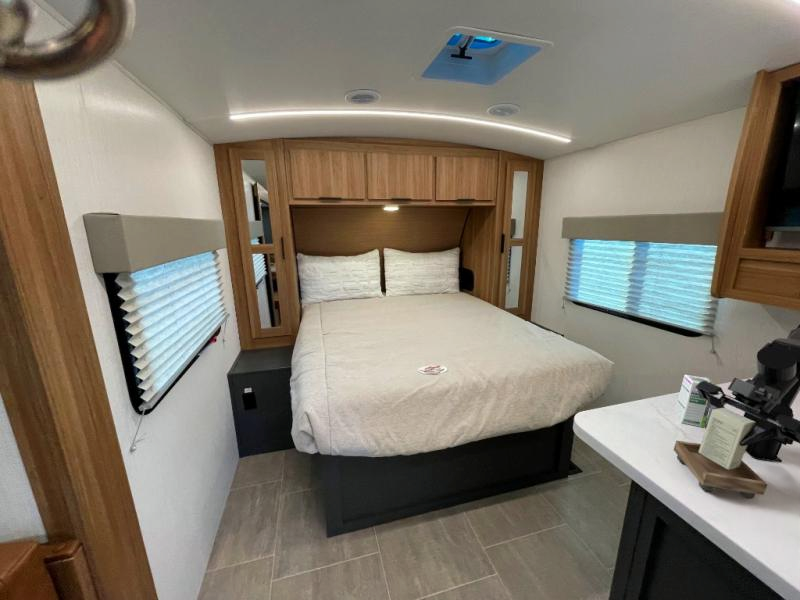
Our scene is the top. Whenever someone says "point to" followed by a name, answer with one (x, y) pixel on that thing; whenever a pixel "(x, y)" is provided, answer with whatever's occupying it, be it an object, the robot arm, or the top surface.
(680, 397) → the syrup box
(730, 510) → the top surface
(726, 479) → the shallow wooden tray
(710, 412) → the robot arm
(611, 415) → the top surface
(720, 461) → the skincare box
